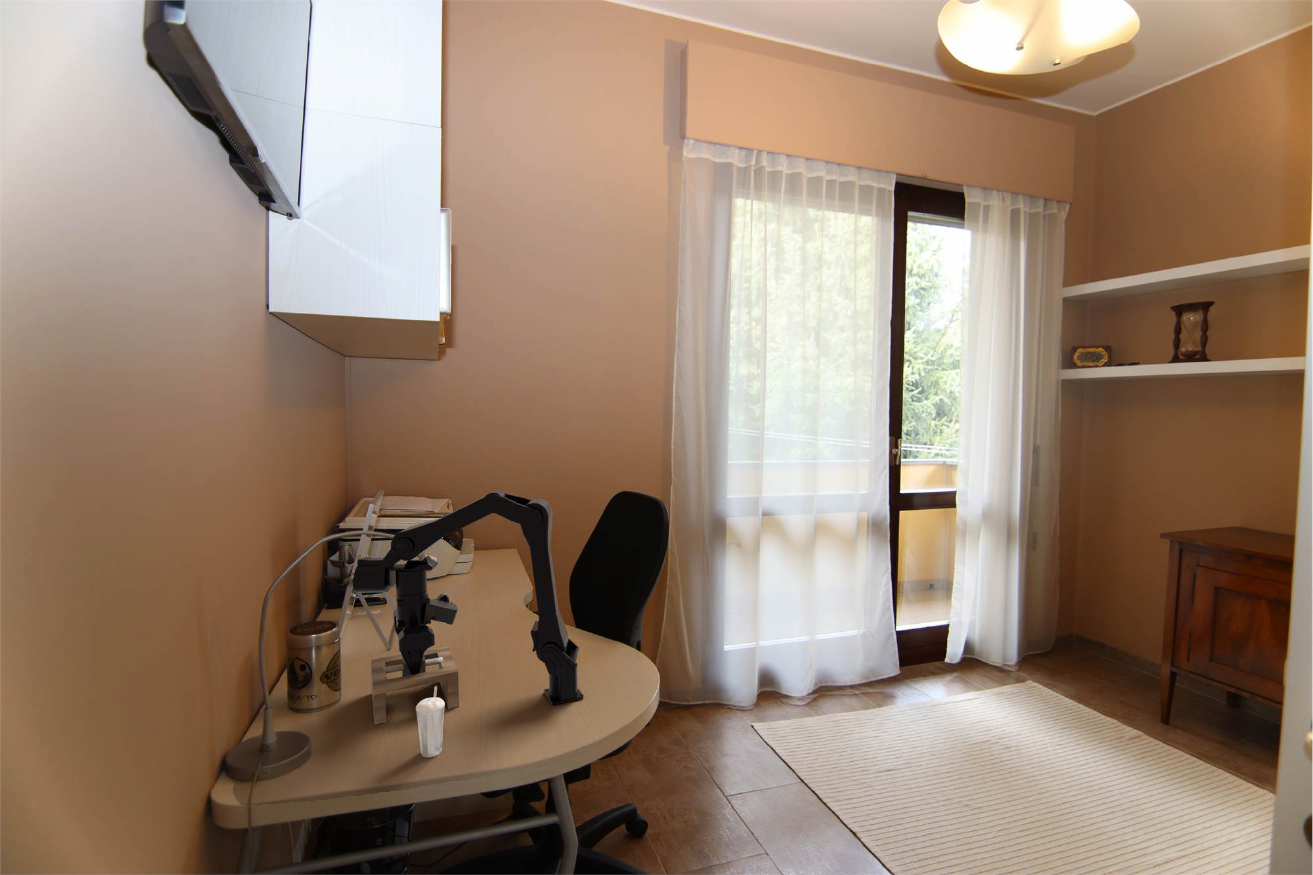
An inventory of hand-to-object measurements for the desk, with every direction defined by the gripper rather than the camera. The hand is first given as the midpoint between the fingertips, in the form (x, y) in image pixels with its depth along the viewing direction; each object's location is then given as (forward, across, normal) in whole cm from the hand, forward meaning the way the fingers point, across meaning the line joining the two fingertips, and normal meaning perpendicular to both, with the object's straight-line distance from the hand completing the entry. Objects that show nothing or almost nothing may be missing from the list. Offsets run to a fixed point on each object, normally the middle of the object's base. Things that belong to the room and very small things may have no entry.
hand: (413, 668), depth 122 cm
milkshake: (+6, -21, -1) cm, 22 cm away
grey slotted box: (+3, 0, 0) cm, 3 cm away
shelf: (+6, 0, 0) cm, 6 cm away
